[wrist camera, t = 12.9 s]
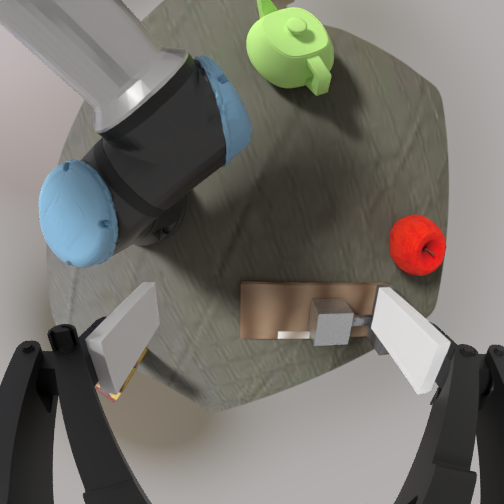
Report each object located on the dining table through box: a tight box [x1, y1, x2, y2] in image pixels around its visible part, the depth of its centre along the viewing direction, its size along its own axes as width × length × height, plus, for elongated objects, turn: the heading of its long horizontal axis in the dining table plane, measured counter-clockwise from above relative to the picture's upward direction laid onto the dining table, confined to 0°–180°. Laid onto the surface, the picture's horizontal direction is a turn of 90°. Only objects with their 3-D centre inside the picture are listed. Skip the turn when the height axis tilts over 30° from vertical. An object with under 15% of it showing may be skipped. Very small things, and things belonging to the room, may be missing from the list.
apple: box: [389, 215, 446, 276], centre depth 40 cm, size 10×10×12 cm
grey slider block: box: [308, 299, 373, 346], centre depth 45 cm, size 11×7×6 cm, turn 89°
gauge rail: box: [240, 281, 407, 355], centre depth 46 cm, size 28×11×8 cm, turn 89°
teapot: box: [246, 0, 334, 96], centre depth 33 cm, size 20×13×13 cm
